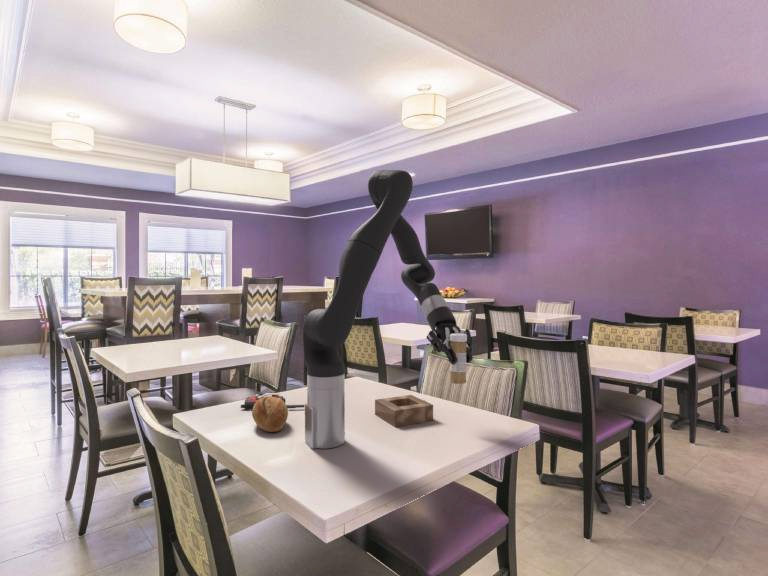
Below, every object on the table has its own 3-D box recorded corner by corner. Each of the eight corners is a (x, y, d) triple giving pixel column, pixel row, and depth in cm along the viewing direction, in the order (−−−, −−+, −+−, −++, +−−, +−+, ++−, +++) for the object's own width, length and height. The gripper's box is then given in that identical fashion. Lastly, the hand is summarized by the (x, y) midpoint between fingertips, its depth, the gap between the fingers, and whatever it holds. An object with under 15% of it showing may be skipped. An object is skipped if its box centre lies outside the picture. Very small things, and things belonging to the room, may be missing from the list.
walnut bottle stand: (394, 426, 123) (394, 410, 123) (375, 414, 134) (374, 399, 134) (433, 420, 128) (433, 404, 128) (411, 409, 140) (411, 394, 139)
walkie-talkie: (238, 413, 137) (304, 411, 139) (238, 398, 137) (304, 397, 138) (245, 405, 146) (306, 403, 147) (245, 391, 146) (306, 390, 147)
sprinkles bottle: (447, 381, 124) (448, 332, 123) (463, 380, 124) (464, 332, 124) (452, 384, 119) (452, 334, 119) (468, 384, 120) (469, 334, 119)
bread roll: (254, 437, 115) (254, 407, 114) (250, 420, 129) (249, 393, 128) (292, 433, 118) (291, 403, 118) (283, 417, 132) (283, 390, 132)
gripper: (422, 305, 125) (446, 355, 114) (463, 304, 131) (490, 351, 120) (412, 323, 130) (434, 372, 119) (452, 321, 136) (477, 367, 125)
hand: (462, 361), depth 120 cm, fingers closed on sprinkles bottle, 4 cm apart
